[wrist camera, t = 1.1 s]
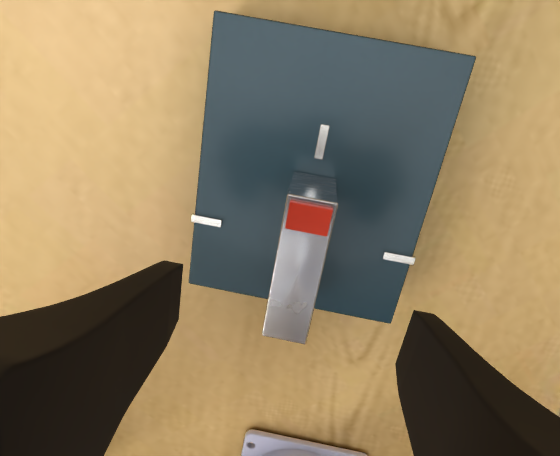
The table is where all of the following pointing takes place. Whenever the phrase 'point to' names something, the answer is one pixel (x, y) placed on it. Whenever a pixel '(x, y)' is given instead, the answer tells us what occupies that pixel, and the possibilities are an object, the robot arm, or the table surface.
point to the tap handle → (300, 256)
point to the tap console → (320, 154)
